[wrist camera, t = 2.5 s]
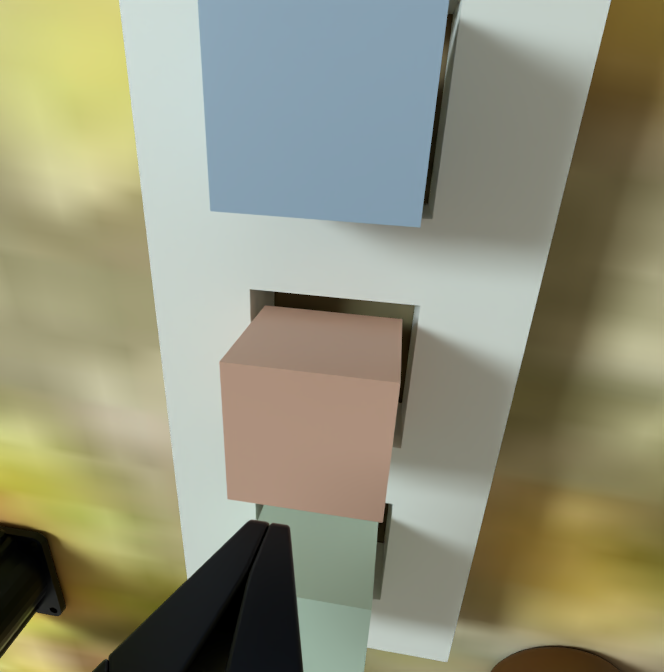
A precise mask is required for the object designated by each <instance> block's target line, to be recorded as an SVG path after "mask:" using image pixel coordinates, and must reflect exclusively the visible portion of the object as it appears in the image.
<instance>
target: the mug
mask: <svg viewBox="0 0 664 672" xmlns="http://www.w3.org/2000/svg"><path fill="white" fill-rule="evenodd" d="M491 672H620V671H619V670H618V669H617V668H616V667H615V666H613V665H612V664H611V663H609V662H608V661H606V660H604V659H602V658H600V657H598V656H595V655H593V654H590V653H587V652H584V651H581V650H576V649H572V648H565V647H539V648H532V649H527V650H523V651H520V652H517V653H515V654H512V655H510V656H509V657H507V658H505V659H503V660H502V661H501V662H499V663H498V664H497V665H496V666H495V667H494V668H493V669H492V671H491Z"/></svg>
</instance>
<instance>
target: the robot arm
mask: <svg viewBox="0 0 664 672" xmlns="http://www.w3.org/2000/svg"><path fill="white" fill-rule="evenodd" d="M65 608H66V605H65V601H64V598H63V594H62V591H61V587H60V584H59V580H58V577H57V573H56V570H55V566H54V563H53V559H52V556H51V552H50V549H49V545H48V542H47V539H46V537H45V536H44V535H42V534H41V533H38V532H34V531H28V530H22V529H16V528H10V527H4V526H0V658H1V657H2V656H3V654H4V653H5V652H6V650H7V649H8V648H9V646H10V645H11V644H12V643H13V641H14V640H15V639H16V637H17V636H18V635H19V633H20V632H21V631H22V630H23V628H24V627H25V626H26V624H27V623H28V622H29V620H30V619H31V618H32V617H33V615H34V614H35V613H36V612H38V613H43V614H49V615H54V616H59V615H61V614H62V612H63V611H64V609H65ZM92 672H304V671H303V660H302V649H301V639H300V628H299V617H298V606H297V595H296V585H295V574H294V563H293V552H292V541H291V531H290V527H289V525H285V524H279V523H271V524H270V525H269V523H268V522H266V521H259V520H249V521H248V522H246V523H245V524H244V525H243V526H242V527H241V528H240V529H239V530H238V531H237V532H236V533H235V534H234V535H233V536H232V537H231V538H230V539H229V540H228V541H227V542H226V543H225V544H224V545H223V546H222V547H221V548H220V549H219V550H217V551H216V552H215V553H214V554H213V555H212V556H211V557H210V558H209V559H208V560H207V561H206V562H205V563H204V564H203V565H202V566H201V567H200V568H199V569H198V570H197V571H196V572H195V573H194V574H193V575H192V576H191V577H190V578H189V579H188V580H187V581H185V582H184V583H183V584H182V585H181V586H180V587H179V588H178V589H177V590H176V591H175V592H174V593H173V594H172V595H171V596H170V597H169V598H168V599H167V600H166V601H165V602H164V603H163V604H162V605H161V606H160V607H159V608H158V609H157V610H156V611H155V612H153V613H152V614H151V615H150V616H149V617H148V618H147V619H146V620H145V621H144V622H143V623H142V624H141V625H140V626H139V627H138V628H137V629H136V630H135V631H134V632H133V633H132V634H131V635H130V636H129V637H128V638H127V639H126V640H125V641H124V642H123V643H121V644H120V645H119V646H118V647H117V648H116V649H115V650H114V651H113V652H112V653H111V654H110V655H109V661H108V660H107V659H105V660H104V661H103V662H102V663H100V664H99V665H98V666H97V667H96V668H95V669H94V670H93V671H92Z"/></svg>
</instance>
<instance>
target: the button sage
mask: <svg viewBox="0 0 664 672" xmlns="http://www.w3.org/2000/svg"><path fill="white" fill-rule="evenodd" d="M258 520H259V521H266V522H268V523H269V525H270V524H271V523H279V524H285V525H289V527H290V531H291V541H292V552H293V563H294V574H295V585H296V595H297V606H298V617H299V628H300V639H301V649H302V660H303V671H304V672H364V666H365V658H366V650H367V642H368V635H369V627H370V619H371V611H372V598H373V585H374V572H375V559H376V545H377V532H378V522H374V521H368V520H361V519H354V518H348V517H341V516H335V515H328V514H321V513H315V512H308V511H302V510H295V509H289V508H282V507H275V506H269V505H264V506H263V508H262V511H261V513H260V516H259V519H258Z"/></svg>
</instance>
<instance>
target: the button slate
mask: <svg viewBox="0 0 664 672" xmlns="http://www.w3.org/2000/svg"><path fill="white" fill-rule="evenodd" d="M448 6H449V0H198V13H199V30H200V47H201V64H202V80H203V97H204V114H205V131H206V147H207V164H208V181H209V198H210V211H214V212H227V213H240V214H252V215H265V216H278V217H291V218H304V219H317V220H330V221H343V222H355V223H368V224H381V225H394V226H407V227H420V226H421V218H422V210H423V202H424V194H425V186H426V179H427V171H428V163H429V155H430V147H431V139H432V131H433V124H434V116H435V108H436V100H437V92H438V84H439V76H440V69H441V61H442V53H443V45H444V37H445V29H446V21H447V14H448Z"/></svg>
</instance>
